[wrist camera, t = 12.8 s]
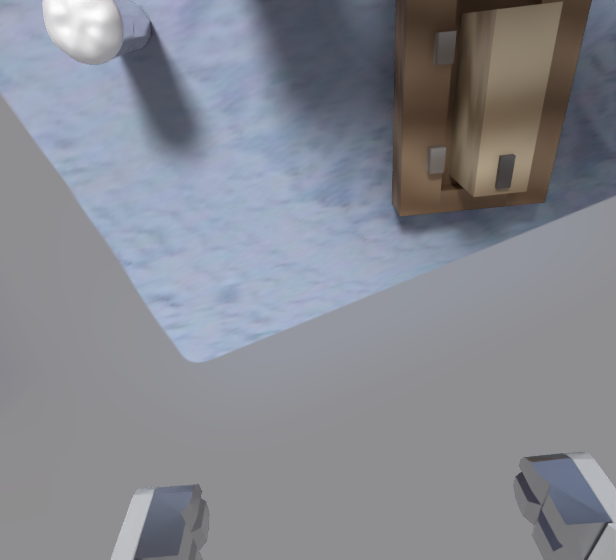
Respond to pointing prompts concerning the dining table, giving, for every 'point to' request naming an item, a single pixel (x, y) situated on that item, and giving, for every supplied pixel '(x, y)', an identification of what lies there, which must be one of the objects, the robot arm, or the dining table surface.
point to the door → (500, 96)
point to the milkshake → (96, 28)
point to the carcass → (440, 103)
